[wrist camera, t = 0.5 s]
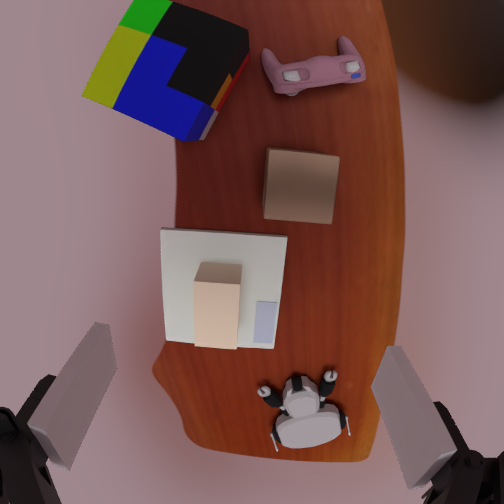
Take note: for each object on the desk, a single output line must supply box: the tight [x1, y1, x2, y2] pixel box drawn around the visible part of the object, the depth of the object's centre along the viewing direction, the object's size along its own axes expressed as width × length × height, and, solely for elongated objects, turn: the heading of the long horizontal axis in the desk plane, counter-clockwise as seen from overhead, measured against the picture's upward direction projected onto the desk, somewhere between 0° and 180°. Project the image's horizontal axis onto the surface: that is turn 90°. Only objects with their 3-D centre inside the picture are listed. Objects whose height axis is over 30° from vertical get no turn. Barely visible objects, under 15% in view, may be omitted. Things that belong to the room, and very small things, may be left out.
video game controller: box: [261, 36, 366, 96], centre depth 26 cm, size 10×5×7 cm, turn 105°
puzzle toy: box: [82, 0, 250, 142], centre depth 25 cm, size 10×10×10 cm
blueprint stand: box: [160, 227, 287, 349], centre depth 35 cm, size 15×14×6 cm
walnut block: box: [262, 147, 340, 224], centre depth 30 cm, size 6×6×7 cm
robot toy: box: [257, 371, 350, 452], centre depth 43 cm, size 12×4×15 cm
